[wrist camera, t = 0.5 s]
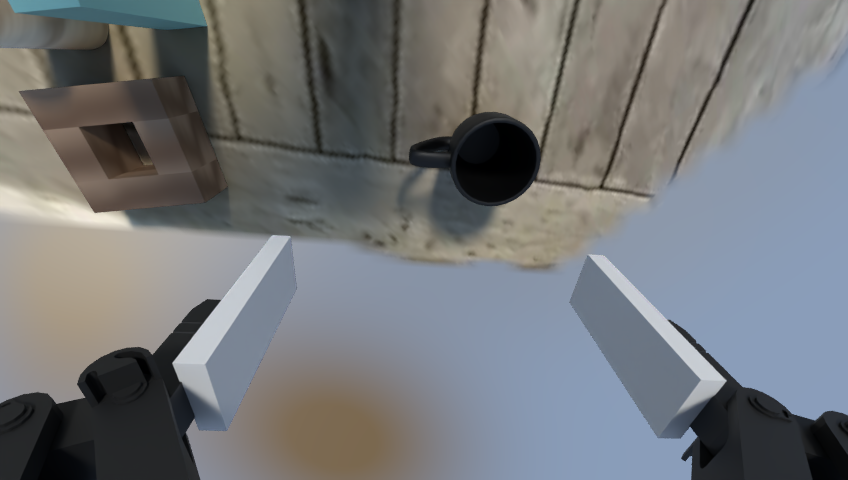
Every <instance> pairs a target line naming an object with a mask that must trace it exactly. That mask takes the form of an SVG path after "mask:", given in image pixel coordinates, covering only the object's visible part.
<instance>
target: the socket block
mask: <svg viewBox="0 0 848 480" xmlns="http://www.w3.org/2000/svg"><path fill="white" fill-rule="evenodd" d="M19 93H20V94H21V96H22V97H23V99H24V101H25V102H26V104H27V105H28V107H29V109H30V110H31V112H32V113H33V115H34V117H35V118H36V120H37V121H38V123H39V125H40V126H41V128H42V129H43V131H44V133H45V134H46V136H47V137H48V139H49V141H50V142H51V144H52V145H53V147H54V149H55V150H56V152H57V153H58V155H59V157H60V158H61V160H62V161H63V163H64V165H65V166H66V168H67V169H68V171H69V173H70V174H71V176H72V177H73V179H74V181H75V182H76V184H77V185H78V187H79V189H80V190H81V192H82V193H83V195H84V197H85V198H86V200H87V201H88V203H89V205H90V206H91V208H92V209H93V211H94V213H98V212H109V211H120V210H131V209H142V208H153V207H164V206H174V205H185V204H196V203H205V202H207V201H208V200H210V199H211V198H213V197H214V196H215V195H217V194H218V193H220V192H221V191H222V190H224V189H225V188H227V187H228V186H227V183H226V181H225V178H224V176H223V173H222V171H221V168H220V166H219V163H218V160H217V158H216V155H215V153H214V150H213V148H212V145H211V143H210V140H209V138H208V135H207V132H206V130H205V127H204V125H203V122H202V120H201V117H200V115H199V112H198V110H197V107H196V104H195V102H194V99H193V97H192V94H191V92H190V89H189V87H188V84H187V81H186V79H185V76H178V77H165V78H153V79H142V80H131V81H121V82H110V83H100V84H89V85H79V86H68V87H58V88H47V89H37V90H26V91H19ZM126 122H133V123H134V125H135V127H136V129H137V132H138V134H139V136H140V138H141V140H142V142H143V144H144V146H145V148H146V150H147V152H148V154H149V156H150V158H151V160H152V162H153V164H154V165H144V166H143V164H142V162H141V160H140V158H139V156H138V154H137V152H136V150H135V148H134V147H133V145H132V143H131V141H130V139H129V137H128V135H127V133H126V131H125V129H124V127H123V125H122V123H126Z"/></svg>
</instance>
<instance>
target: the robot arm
mask: <svg viewBox="0 0 848 480" xmlns="http://www.w3.org/2000/svg"><path fill="white" fill-rule="evenodd" d="M296 289H297V286H296V278H295V269H294V262H293V253H292V244H291V236H279V235H272V236H271V237H270V238H269V239H268V241H267V242H266V243H265V245H264V246H263V247H262V249H261V250H260V251H259V252H258V254H257V255H256V256H255V258H254V259H253V260H252V262H251V263H250V264H249V265H248V267H247V268H246V269H245V270H244V272H243V273H242V274H241V276H240V277H239V278H238V279H237V281H236V282H235V283H234V285H233V286H232V287H231V288H230V290H229V291H228V292H227V294H226V295H225V296H224V298H223V299H222V300H210V299H207V300H205V301H204V302H202V303H201V304H200V305H198V306H196V307H195V308H193V309H192V310H191V311H190V312H189V313H188V315H187V316H186V317H185V318H184V319H183V321H182V323H180V324H179V325H178V326H177V327H176V328H175V330H174V331H173V333H171V334H170V335H169V336H168V338H167V339H166V340H165V341H164V342H163V343H162V345H161V346H160V347H159V348H158V349H157V350H156V352H155V353H154V354H153V355H152V354H151V353H150V352H149V350H147V349H144V348H141V347H133V348H125V349H121V350H117V351H114V352H112V353H110V354H107V355H105V356H103V357H101V358H99V359H98V360H96V361H95V362H93V363H92V364H90V365H89V366H88V367H87V368H86V369H85V370H84V371H83V373H82V374H81V375H80V377H79V380H78V383H77V385H78V386H79V388H80V390H81V391H82V393H83V394H84V396H85V397H86V398H83V399H78V400H73V401H68V402H64V403H59V404H56V403H55V402H54V400H53V399H52V398H51V397H50V396H49V395H48V394H45V393H38V392H37V393H30V394H23V395H20V396H18V397H15V398H12V399H9V400H6V401H4V402H3V403H1V404H0V480H200V477H199V474H198V470H197V467H196V463H195V460H194V457H193V453H192V450H191V447H190V443H189V440H188V437H187V435H186V431H187V429H188V428H189V426H190V424H191V423H192V421H193V419H195V421H196V424H197V426H198V429H199V430H214V431H227V430H228V428H229V426H230V424H231V422H232V420H233V417H234V416H235V414H236V412H237V409H238V407H239V405H240V403H241V401H242V399H243V397H244V395H245V393H246V391H247V389H248V387H249V385H250V383H251V381H252V379H253V377H254V375H255V372H256V371H257V369H258V367H259V364H260V363H261V360H262V358H263V356H264V354H265V352H266V350H267V348H268V346H269V344H270V342H271V340H272V338H273V336H274V334H275V332H276V330H277V328H278V326H279V324H280V321H281V320H282V318H283V316H284V314H285V311H286V309H287V307H288V305H289V303H290V301H291V299H292V297H293V295H294V293H295V291H296ZM570 304H571V305H572V307H573V308H574V310H575V312H576V313H577V315H578V316H579V318H580V319H581V321H582V322H583V324H584V325H585V327H586V328H587V330H588V331H589V333H590V335H591V336H592V338H593V339H594V341H595V342H596V344H597V345H598V347H599V348H600V350H601V351H602V353H603V354H604V356H605V358H606V359H607V361H608V362H609V364H610V365H611V367H612V368H613V370H614V371H615V373H616V375H617V376H618V378H619V379H620V380H621V382H622V384H623V385H624V387H625V388H626V390H627V391H628V393H629V394H630V396H631V397H632V399H633V400H634V402H635V404H636V405H637V407H638V408H639V410H640V411H641V413H642V414H643V416H644V418H645V419H646V420H647V422H648V424H649V425H650V427H651V428H652V430H653V431H654V433H655V434H656V436H657V438H681V437H682V436H683V435H684V433H685V432H686V431H687V430H688V428H689V427H691V428H692V429H693V431H694V432H695V433H696V435H697V436H698V437H697V438H696V439H695V441H694V442H693V443H692V444H691V446H690V447H689V448H688V449H687V450H686V451H685V452H684V454H683V456H682V458H681V459H682V460H684V461H686V460H687V459H688V457H689V456H692V476H691V480H848V415H845V414H843V413H839V412H834V411H827V412H825V413H823V414H822V415H821V416H820V417H819V418H818V419H817V420H816V421H814V420H811V419H807V418H804V417H800V416H797V415H794V414H791V413H790V411H788V409H786V407H785V406H783V405H782V404H781V403H779V402H778V401H777V400H775V399H774V398H772V397H770V396H768V395H767V394H765V393H763V392H760V391H758V390H755V389H752V388H744V387H742V386H741V385H740V384H739V383H738V382H737V381H736V380H735V379H734V378H733V377H732V376H731V375H730V374H729V373H728V372H727V371H726V370H725V369H724V368H723V367H722V366H721V365H720V364H719V363H718V362H717V361H716V360H715V359H714V358H713V357H712V356H711V355H710V354H709V353H706V351H705V350H704V348H703V347H702V346H701V345H699V344H697V343H696V340H695V339H694V338H692V337H691V335H690V334H688V332H686V331H685V330H684V329H683V328H681V327H680V326H678V325H677V324H675V323H674V322H672V321H671V320H666V319H665V317H664V316H663V315H662V314H661V313H660V312H659V311H658V310H657V309H656V308H655V307H654V306H653V305H652V304H651V303H650V302H649V301H648V300H647V299H646V298H645V297H644V296H643V295H642V294H641V293H640V292H639V291H638V290H637V289H636V288H635V287H634V286H633V285H632V284H631V283H630V282H629V281H628V280H627V279H626V278H625V277H624V276H623V274H622V273H621V272H620V271H619V270H617V268H616V267H614V265H613V264H612V263H611V262H610V261H609V260H608V259H607V258H606V257H605V256H604V255H603V256H602V255H587V258H586V260H585V263H584V266H583V268H582V271H581V273H580V276H579V279H578V281H577V284H576V286H575V289H574V291H573V294H572V297H571V299H570Z"/></svg>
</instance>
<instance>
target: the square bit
mask: <svg viewBox="0 0 848 480" xmlns="http://www.w3.org/2000/svg"><path fill="white" fill-rule="evenodd" d="M8 2H9V4H10V5H11V7H12V9H13V11H14V12H15V13H20V14H29V15H37V16H46V17H55V18H64V19H73V20H82V21H91V22H100V23H108V24H117V25H126V26H135V27H144V28H153V29H162V30H172V29H183V28H193V27H203V26H207V24H206V21H205V18H204V15H203V12H202V9H201V6H200V3H199V0H8Z"/></svg>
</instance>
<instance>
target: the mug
mask: <svg viewBox="0 0 848 480" xmlns="http://www.w3.org/2000/svg"><path fill="white" fill-rule="evenodd" d="M438 150H448V152H434V151H438ZM540 160H541V158H540V147H539V144H538V141H537V139H536V137H535V135H534V134H533V132H532V131H531V130H530V129H529V128H528V127H527V126H526V125H525V124H523V123H521V122H520V121H518V120H516V119H514V118H512V117H510V116H508V115H506V114H502V113H498V112H483V113H479V114H475V115H473V116H471V117H469V118H467V119H466V120H465V121H463V122H462V123H461V124H460V125H459V126H458V128H457V129H456V130H455V131H454V133H453V136H452V137H437V138H433V139H429V140H426V141H423V142H420V143H417V144H414V145H412V146H411V148H410V152H409V162H410V164H412V165H415V166H419V167H428V168H449V170H450V173H451V176H452V179H453V181H454V183H455V185H456V188H457V189H458V190H459V191H460V193H461V194H462V195H463V196H464V197H466V198H467V199H468V200H470V201H472V202H474V203H476V204H479V205H485V206H498V205H502V204H506V203H508V202H511V201H513V200H515V199H516V198H518V197H519V196H521V195H522V194H523V193H524V192H525V191H526V190H527V189H528V188H529V187H530V186H531V184H532V183H533V181H534V180H535V178H536V175H537V173H538V170H539V166H540Z"/></svg>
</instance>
